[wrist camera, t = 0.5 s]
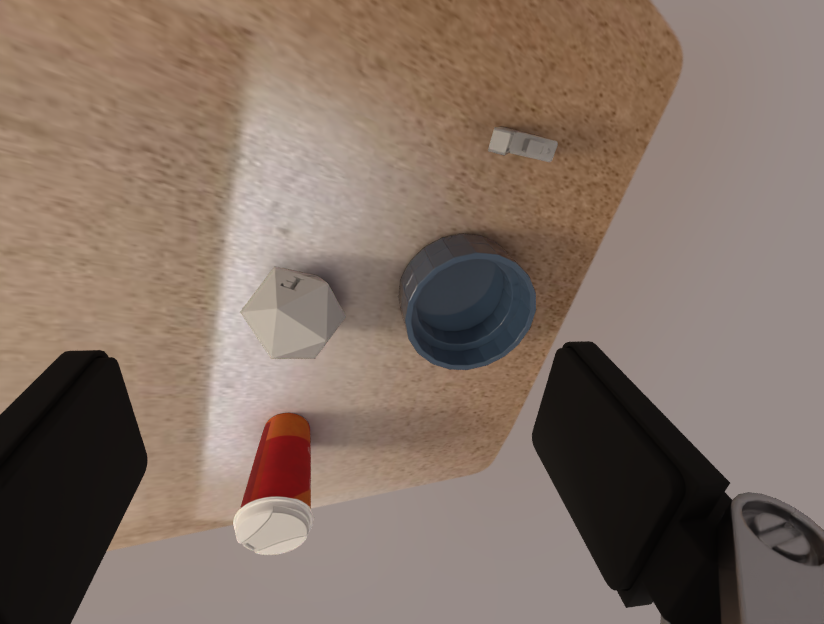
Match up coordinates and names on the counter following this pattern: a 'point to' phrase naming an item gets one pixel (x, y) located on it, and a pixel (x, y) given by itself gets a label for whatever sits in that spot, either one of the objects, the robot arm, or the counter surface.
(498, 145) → the lighter
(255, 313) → the grey polyhedron
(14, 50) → the counter surface
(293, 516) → the paper cup
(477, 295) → the bowl
